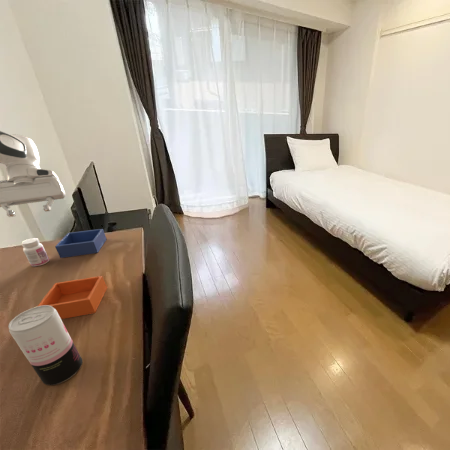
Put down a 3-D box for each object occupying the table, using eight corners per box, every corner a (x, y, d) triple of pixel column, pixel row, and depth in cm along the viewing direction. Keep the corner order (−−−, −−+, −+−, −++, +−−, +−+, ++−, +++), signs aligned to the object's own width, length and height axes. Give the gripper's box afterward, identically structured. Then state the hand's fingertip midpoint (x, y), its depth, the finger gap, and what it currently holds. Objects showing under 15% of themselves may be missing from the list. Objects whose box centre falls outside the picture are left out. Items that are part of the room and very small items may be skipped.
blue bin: (60, 258, 93) (54, 246, 91) (72, 243, 102) (67, 232, 100) (97, 252, 96) (93, 241, 94) (106, 239, 105) (102, 228, 103)
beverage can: (49, 363, 57) (17, 310, 51) (86, 353, 60) (60, 300, 53) (37, 391, 52) (-2, 336, 45) (78, 379, 54) (47, 324, 48)
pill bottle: (46, 265, 89) (35, 243, 86) (28, 268, 88) (16, 245, 84) (52, 257, 93) (41, 236, 90) (34, 260, 92) (23, 238, 88)
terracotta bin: (43, 322, 67) (35, 308, 65) (61, 296, 76) (55, 282, 74) (95, 312, 70) (89, 299, 68) (107, 288, 79) (102, 275, 77)
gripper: (-22, 177, 89) (-19, 215, 85) (57, 170, 98) (62, 204, 95) (-10, 187, 94) (-6, 223, 91) (64, 178, 103) (69, 211, 100)
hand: (29, 213), depth 93 cm, fingers open, 8 cm apart
